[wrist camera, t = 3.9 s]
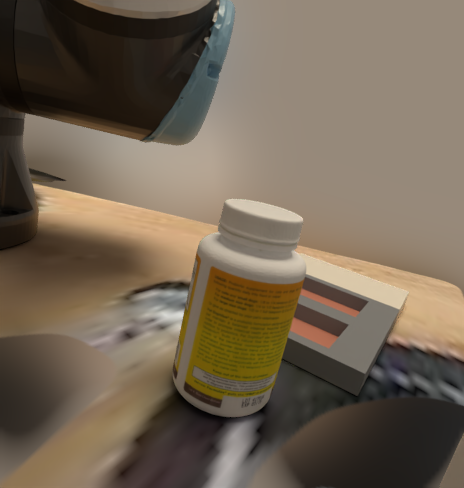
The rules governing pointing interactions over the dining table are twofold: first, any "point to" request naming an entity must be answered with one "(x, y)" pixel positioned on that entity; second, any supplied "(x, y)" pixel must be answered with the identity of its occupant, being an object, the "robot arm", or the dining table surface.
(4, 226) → the robot arm
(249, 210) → the supplement bottle
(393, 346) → the dining table surface
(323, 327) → the board
